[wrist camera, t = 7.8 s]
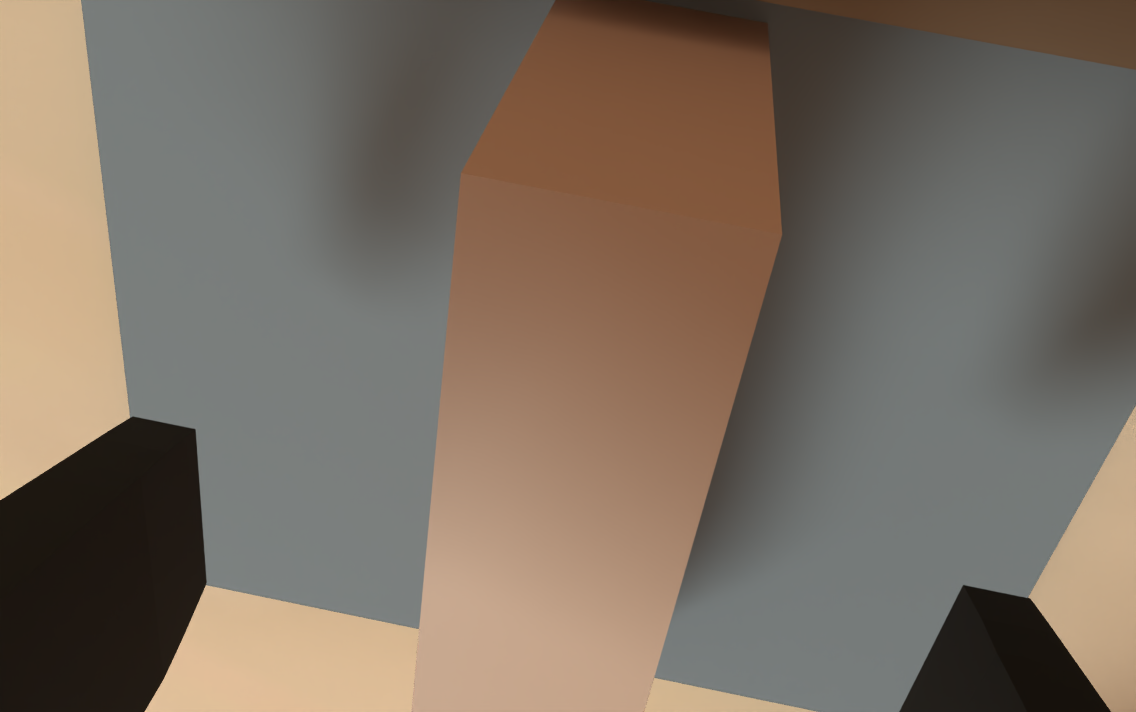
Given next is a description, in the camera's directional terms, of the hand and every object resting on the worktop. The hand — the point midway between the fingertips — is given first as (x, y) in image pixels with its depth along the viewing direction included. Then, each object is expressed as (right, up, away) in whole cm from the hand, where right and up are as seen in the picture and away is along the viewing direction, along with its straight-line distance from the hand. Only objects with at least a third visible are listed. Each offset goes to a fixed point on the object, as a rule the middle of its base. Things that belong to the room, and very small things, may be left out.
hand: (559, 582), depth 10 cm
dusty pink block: (0, +2, +3) cm, 3 cm away
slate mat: (0, +2, +3) cm, 4 cm away
